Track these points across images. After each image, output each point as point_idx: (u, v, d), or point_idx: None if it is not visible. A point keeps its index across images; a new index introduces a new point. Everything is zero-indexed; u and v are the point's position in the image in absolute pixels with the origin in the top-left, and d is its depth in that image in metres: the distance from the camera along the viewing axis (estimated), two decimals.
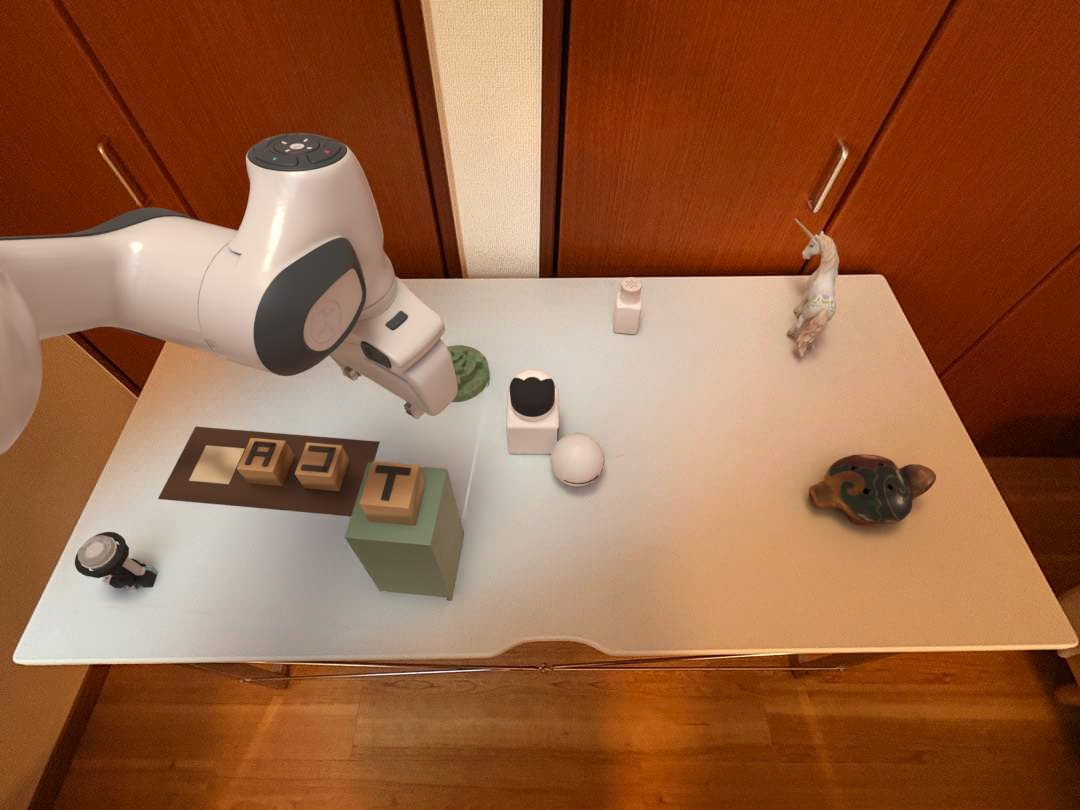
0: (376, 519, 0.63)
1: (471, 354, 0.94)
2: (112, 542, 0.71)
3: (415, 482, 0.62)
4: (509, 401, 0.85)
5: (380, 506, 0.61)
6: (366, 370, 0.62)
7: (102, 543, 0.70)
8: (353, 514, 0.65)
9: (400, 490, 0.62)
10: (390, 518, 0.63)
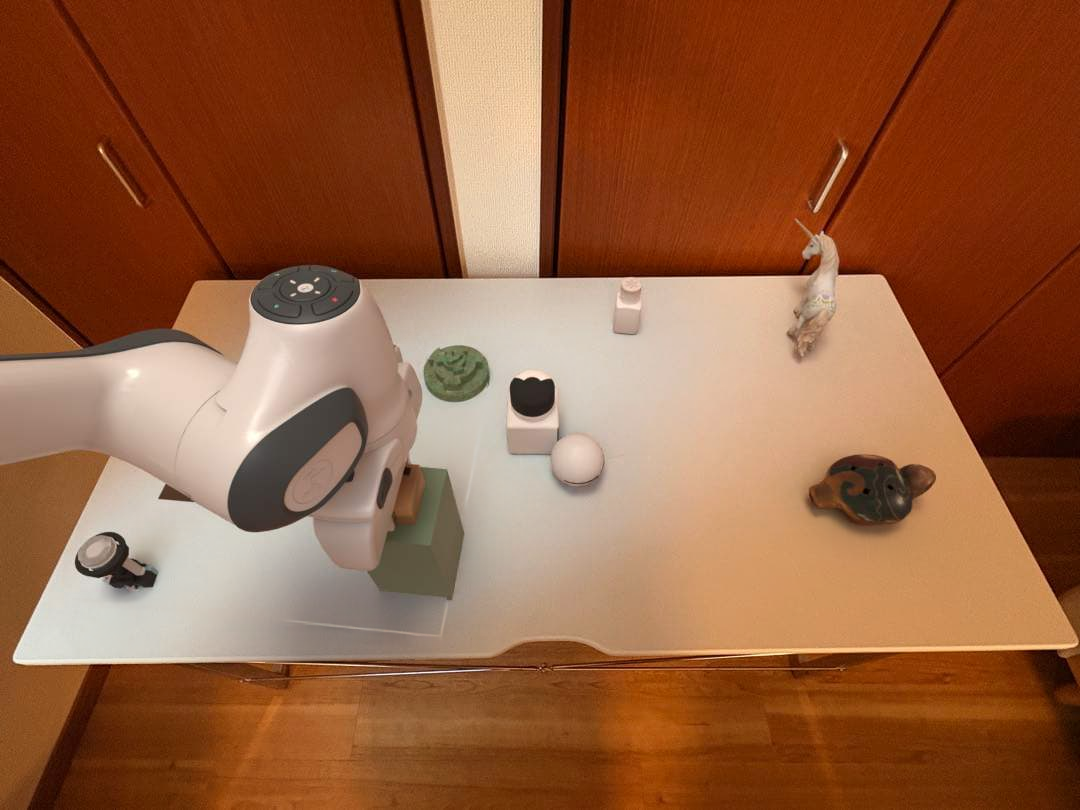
0: None
1: (471, 354, 0.94)
2: (112, 542, 0.71)
3: (415, 482, 0.62)
4: (509, 401, 0.85)
5: None
6: None
7: (102, 543, 0.70)
8: None
9: (400, 489, 0.62)
10: None
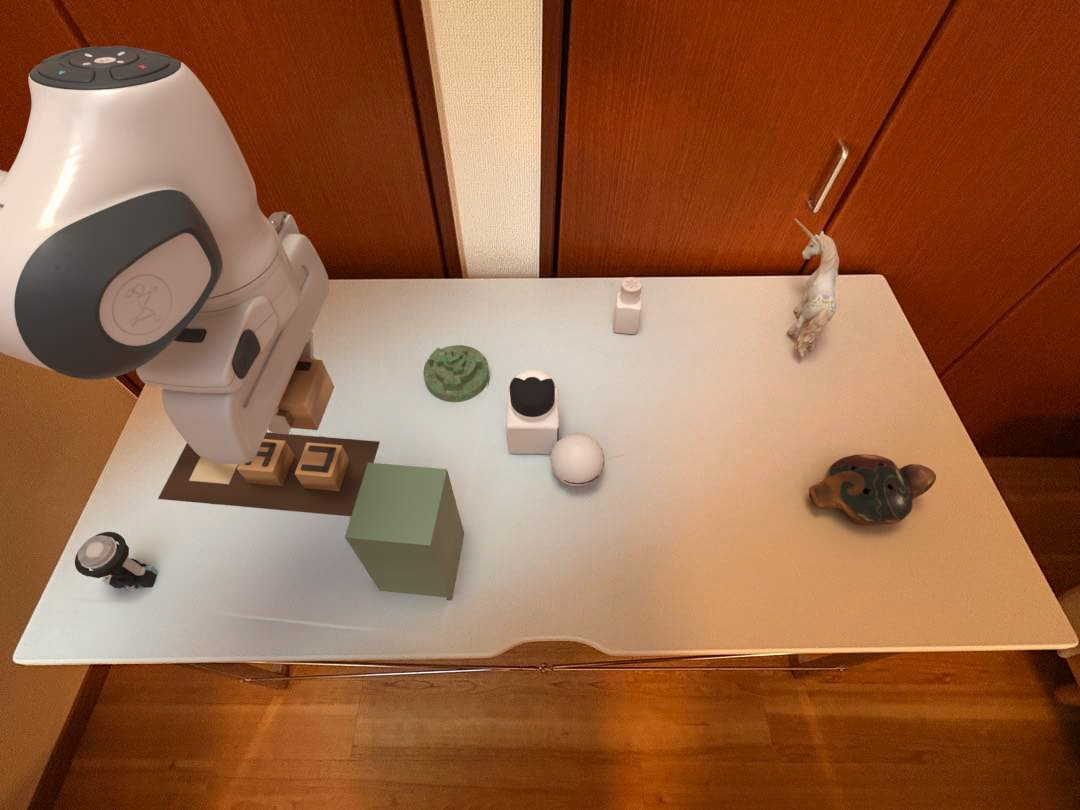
0: None
1: (471, 354, 0.94)
2: (112, 542, 0.71)
3: (314, 378, 0.54)
4: (509, 401, 0.85)
5: None
6: None
7: (102, 543, 0.70)
8: (353, 514, 0.65)
9: (297, 385, 0.53)
10: None
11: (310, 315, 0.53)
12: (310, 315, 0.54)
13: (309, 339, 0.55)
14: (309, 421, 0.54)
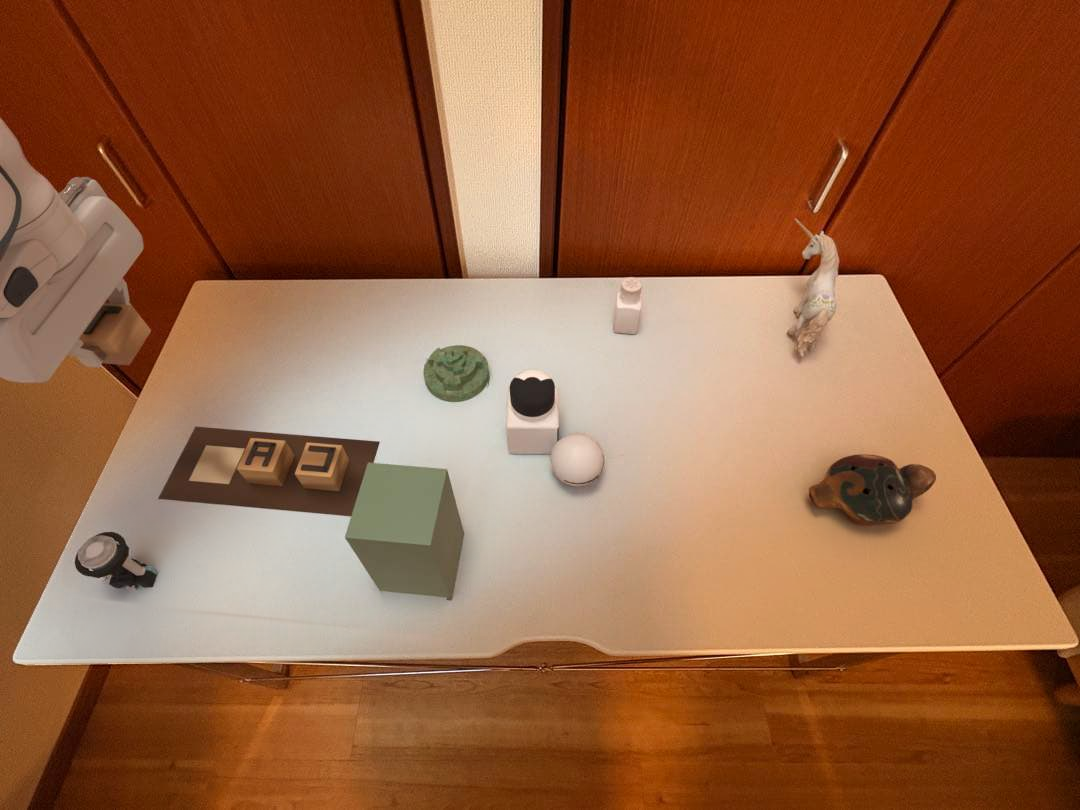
0: None
1: (471, 354, 0.94)
2: (112, 542, 0.71)
3: (122, 319, 0.63)
4: (509, 401, 0.85)
5: (81, 338, 0.62)
6: None
7: (102, 543, 0.70)
8: (353, 514, 0.65)
9: (105, 325, 0.63)
10: None
11: (117, 266, 0.63)
12: (118, 266, 0.63)
13: (122, 288, 0.65)
14: (119, 356, 0.64)
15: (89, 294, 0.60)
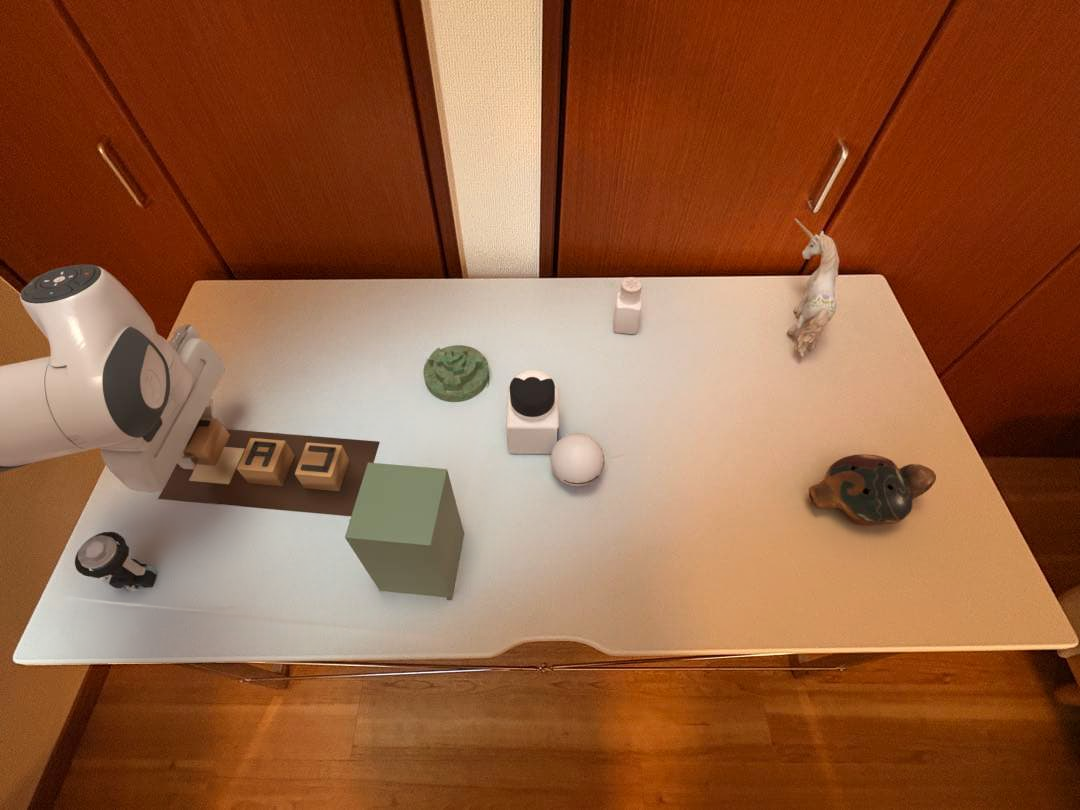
0: None
1: (471, 354, 0.94)
2: (112, 542, 0.71)
3: (211, 431, 0.81)
4: (509, 401, 0.85)
5: None
6: None
7: (102, 543, 0.70)
8: (353, 514, 0.65)
9: (199, 437, 0.80)
10: None
11: (208, 390, 0.80)
12: (208, 390, 0.80)
13: (209, 404, 0.82)
14: (208, 460, 0.81)
15: (190, 417, 0.77)
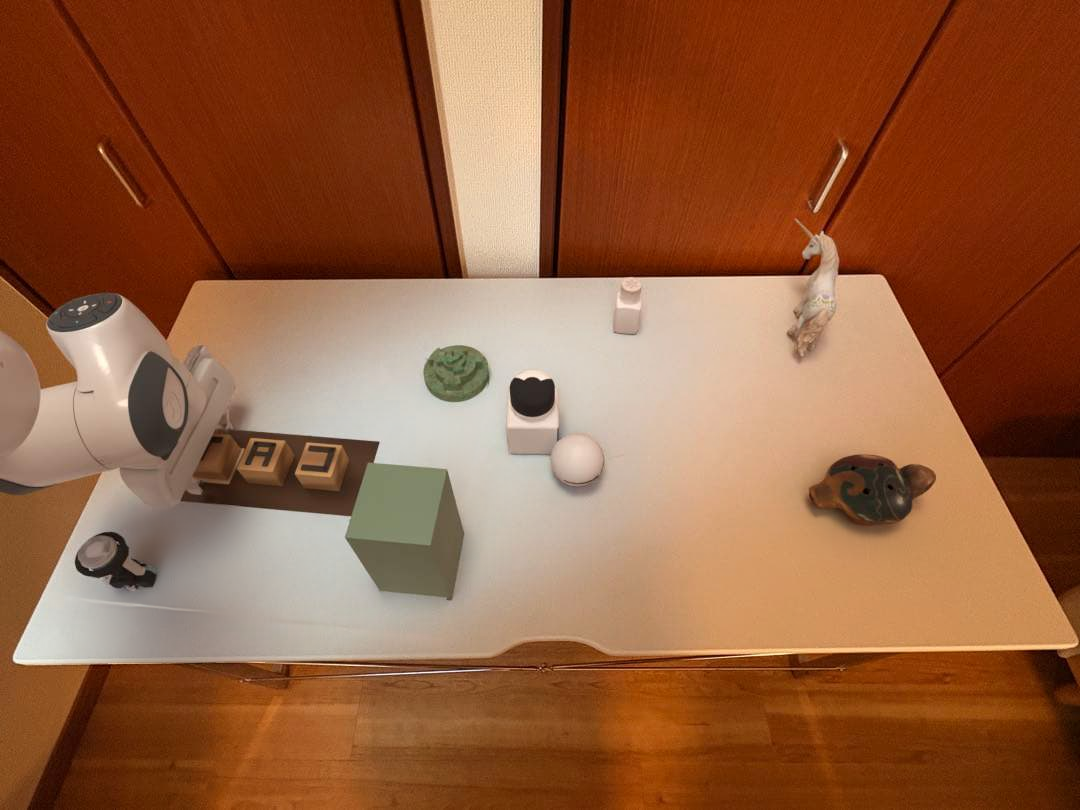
0: (198, 475, 0.85)
1: (471, 354, 0.94)
2: (112, 542, 0.71)
3: (224, 448, 0.84)
4: (509, 401, 0.85)
5: None
6: None
7: (102, 543, 0.70)
8: (353, 514, 0.65)
9: (212, 453, 0.83)
10: (207, 474, 0.84)
11: (219, 407, 0.83)
12: (220, 407, 0.83)
13: (225, 412, 0.86)
14: (221, 475, 0.84)
15: (203, 434, 0.80)
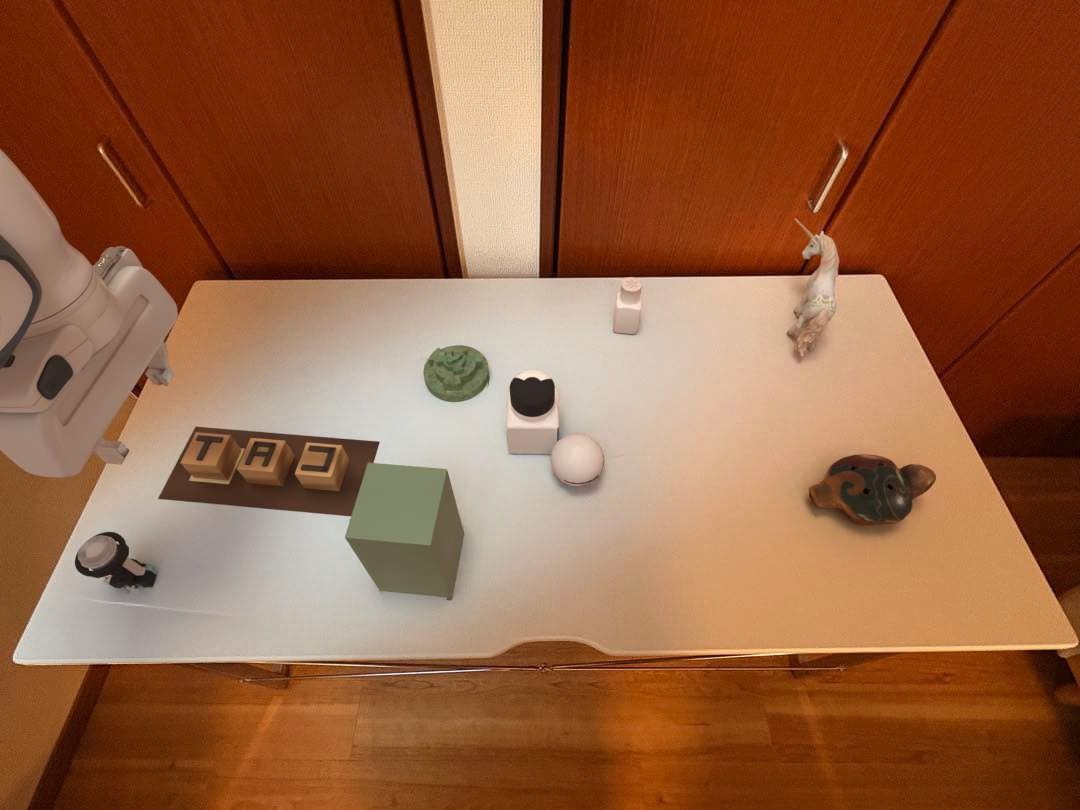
0: (198, 475, 0.85)
1: (471, 354, 0.94)
2: (112, 542, 0.71)
3: (224, 448, 0.84)
4: (509, 401, 0.85)
5: (195, 464, 0.82)
6: None
7: (102, 543, 0.70)
8: (353, 514, 0.65)
9: (212, 453, 0.83)
10: (207, 474, 0.84)
11: (151, 340, 0.58)
12: (152, 340, 0.58)
13: (162, 350, 0.61)
14: (221, 475, 0.84)
15: (123, 374, 0.55)
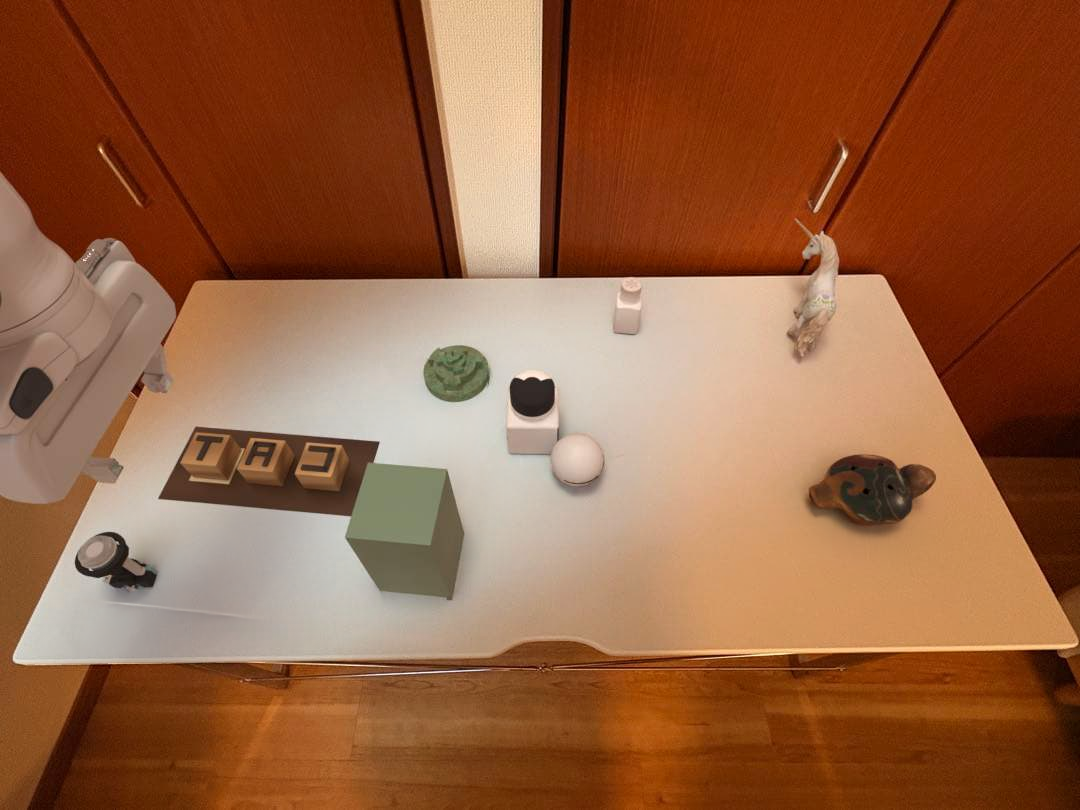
0: (198, 475, 0.85)
1: (471, 354, 0.94)
2: (112, 542, 0.71)
3: (224, 448, 0.84)
4: (509, 401, 0.85)
5: (195, 464, 0.82)
6: None
7: (102, 543, 0.70)
8: (353, 514, 0.65)
9: (212, 453, 0.83)
10: (207, 474, 0.84)
11: (146, 344, 0.52)
12: (147, 343, 0.52)
13: (159, 354, 0.55)
14: (221, 475, 0.84)
15: (114, 383, 0.48)
